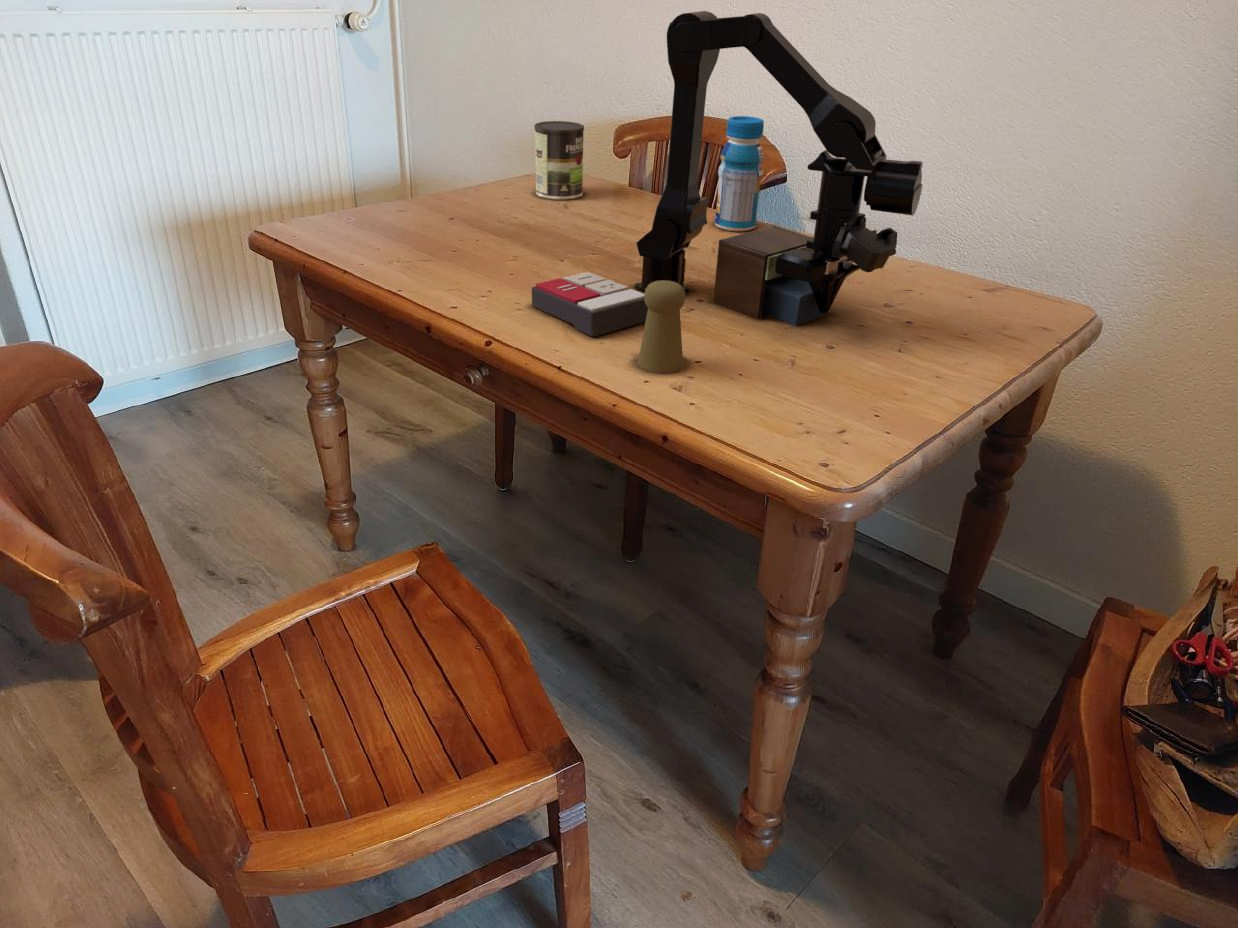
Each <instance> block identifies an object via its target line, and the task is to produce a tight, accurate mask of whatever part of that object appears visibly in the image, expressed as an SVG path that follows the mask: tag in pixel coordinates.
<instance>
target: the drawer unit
mask: <svg viewBox="0 0 1238 928" xmlns="http://www.w3.org/2000/svg"><path fill="white" fill-rule="evenodd" d="M811 239H814V236H809V235H806V234H803V233H801V232H796V231H792V230H788V229H786V228H783V227H779V226H776V225H772V226H768V227H764V228H760V229H757V230H752V231H749V232H748V231H747V232H745V233H741V234H737V235H733V236H731V237H730V236H729V237H726V238H722V239H718V247H717V248H718V249H717V257H716V258H717V259H716V269H715V279H714V287H713V288H714V289H713V300H712V302H713V303H714V304H717V305H718V306H719V305H720V306H722V307H724V308H727V309H729V310H732V311H735V312H737V313H740V314H743V315H745V316H748V317H750V318H753V319H755V320H760V319H763V313H762V311H763V303H764V296H765V288H766V280H765V276H766V268H767V260H768V257H770V256H773V255H777V254H780V253H784V252H787V251H790V250H794V249H797V248H801V247H804V246H807V241H808V240H811Z"/></svg>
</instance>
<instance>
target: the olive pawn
mask: <svg viewBox="0 0 1238 928" xmlns="http://www.w3.org/2000/svg"><path fill="white" fill-rule="evenodd" d="M644 294H645V296H644V300H645V304H646V305H647V307H648V312H647V317H646V322H644V329H643V332H642V333H643V334H642V339H641V342H640V343H641V344H640V348H639V354H638V359H637V365H638V367H640V368H641V369H643V370H645V371H648V372H651V373H656V374H657V373H658V374H669V373H670V374H671V373H674V372H678V371H680V370H681V369H682V368H683V367H684V357H683V356H684V355H683V339H682V324H681V323H682V321H681V309H682V308H683V307H684V305H685V302H686V291H684V289H683V287H682V286H681V285H680V284H678V283H676V282H673V281H665V280H662V281H655V282H652V283H650V284H649V285H648V286H647V288H646V290H645V291H644Z"/></svg>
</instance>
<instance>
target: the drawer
mask: <svg viewBox="0 0 1238 928" xmlns="http://www.w3.org/2000/svg"><path fill="white" fill-rule="evenodd" d="M797 249H800V250H804V251H807V252H811V253H814V250H813V249H809V248H806V246H804V247H801V248H797ZM790 251H791V250H790ZM780 254H782V253H780ZM780 254H777V255H773V256H770V257H768V260H767V268H766V276H765V280H770V279H773V278H776V277H779V276H782V274H778V273H775V265H776V258H777V257H778V256H779V255H780Z"/></svg>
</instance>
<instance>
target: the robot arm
mask: <svg viewBox="0 0 1238 928" xmlns="http://www.w3.org/2000/svg"><path fill="white" fill-rule="evenodd" d="M666 48H667V62H668V65H669V69H670V72H671V76H672V79H673V97H672V110H671V123H670V133H669V134H670V135H669V147H668V158H667V159H668V160H667V170H666V183H665V186H664V190H663V192H662V194H661V197H660V198H659V201H658V203H657V206H656V209H655V212H654V218H653V222H652V226H651V230H650V231H648V233H647V232H646V234H645V235H644V236H643V237H641V238H640V239H638V241H637V242H636V248H637V251H638V255H639V257H642V269H641V271H642V272H641V282H638V283H635V284H634V288H635V289H637V290H640V291H642V292H645V290H646V288H647V286H648V285H649V284H650V283H652V282H655V281H662V280H665V281H673V282H676V283H678V284H680V285H681V286H682V287H683V289H684V291H685V292H688V291H690V290H691V289H690V286H688V285H685V284H684V283H685V273H686V262H687V261H686V250H685V249H687V248H689V247H690V244H691V242H692V240H694V239H695V238H697V237H698V236H699V235H700V234H701V233H702V230H703V227H704V226H705V225H707V224H708V218H707V212H708V207H709V203H710V198H709V197H701V194H700V191H699V190H700V189H699V187H698V180H699V179H698V178H699V170H700V169H699V168H700V160H701V159H700V158H701V149H702V138H703V129H704V118H705V109H706V100H707V99H706V98H707V89H708V83H709V80H710V79H711V77H712V74H713V71H714V70H715V68H716V66H717V65H716V64H717V62H718V59H719V55H720V50H723V49H724V50H725V49H733V48H744V49H746V50H747V51H748V52H749V53H750V54H751V55H752V57H754V58H755V59H756V60H757V61H758V62H759V63H760V65H761V66H762V67H763V68H764V69H765V70H766V71H767V72H768V73H769V74H770V75H771V76H772V77H773V78H774V80H775V81H776V82H777V83H778V84H779V85H780V86H781V87H782V88H783V89H784V90H785V92H787V93H788V94H789V95H790V96H791V97H792V99H793V100H794V101H795V102H796V103H797V104H798V105H799V106H800V107H801V108H802V110H803V111H804V112H805V114H806V115H807V117H808V120H809V122H810V125H811V127H812V130H813V131H814V133H815V135H816V136H817V138H818V140H819V141H820V142H821V144H822V145H823V147H824V149H825V150H823V151H821V152H820V153H819V155H818V156H817V157H816V158H815V159H814V160H813V161H811V162H810V163H809V164H807V170H808V171H816V172H821V179H820V187H819V193H818V201H817V209H815V210H812V211H810V215H809V216H810V217H809V220H813V221H815V225H814V233H813V238H814V239H811V240H808V241H807V246H806V248H809V249H813V250H814V253H811V252H807V251H804V250H800V249H794V250H791V251H787V252H784V253H782V254H780V255H779V256H778V257H777V258H776V265H775V273H778V274H782V275H785V276H788V277H791V278H794V279H798V280H801V281H804V282H809V284H810V287H811V289H812V292H813V295H814V298H815V301H816V303H817V306H818V309H819V312H821V313H824V314H825V313H828V312H829V313H830V310H831V308H832V306H833V304H834V302H835V299H836V298H837V295H838V294H839V292H840V290H841V287H842V286H843V283H844V282H845V280H846V279H847V277H849V276H851V275H853V273H855V272H857V271H859V270H861V271H862V272H865V273H872V272H873V271H875V270H878V269H884V267H885V265H886V264H887V262H888V260H889V258H890V257H892V256H894V255H896V254H897V249H896V248H897V247H898V246H897V244H898V232H897V231H896V230H895V229H893V228H892V227H887V228H884V229H882V230H880V231H879V232H878V230H877V229H873V230H871V229H870V228H868V227H867V226H866V224H867V217H866V214H865V213H862V212H860V209H861V204H862V199H863V201H864V203H865V205H866V206H869V209H870V211H877V212H881V213H883V212H884V213H891V214H897V215H898V214H899V215H906V216H914V215H915V213H916V212H917V209H918V206H919V204H920V203H919V202H920V199H921V195H922V189H923V184H922V179H923V172H922V170H923V164H924V163H923V162H922V161H920V160H897V159H896V160H895V159H888V158H887V154H886V152H885V150H884V148H883V146H882V144H881V142H880V141H879V139H878V136H877V135H876V126H877V125H876V124H877V122H876V119H875V116H874V115H873V114H872V112H871V111H869V110H868V109H867V108H866V107H864V106H863V105H861V104H860V103H859V102H858V101H857V100H854V99H853V98H852V97H851V96H848V95H847V94H845V93H843V92H841V91H840V90H837V89H836V88H835V87H833V85H831V84H830V83H828V82H827V81H826V80H825V78H823V76H822V75H821V74H820V73H819V72H818V71H817V69H815V68H814V67H813V66H812V65H811V63H810V62H809V61H808V60H807V59H806V58H805V57H804V56H803V55H802V54H801V53H800V52H799V51H798V50H797V48H796V47H795V46H793V44H792V43H791V42H790V41H789V40H788V39H787V37H785V36H784V35H783V33H782V32H781V31H780V30H779V29H778V28H777V27H776V26H775V25H774V24H773V22H772V20H771V18H770V17H769V16H768V15H767V14H765V13H762V12H755V13H750V14H745V15H740V16H739V15H738V16H728V17H718V16H717V15H716V14H714V13H713V12H711V11H707V10H699V11H692V12H685V13H684V12H683V13H681V14H679V15H676V17H674V19H672V21H671V22H669V24H668V27H667V31H666ZM865 178H866V181H865ZM864 183H865V186H864ZM829 313H828V314H829Z"/></svg>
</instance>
